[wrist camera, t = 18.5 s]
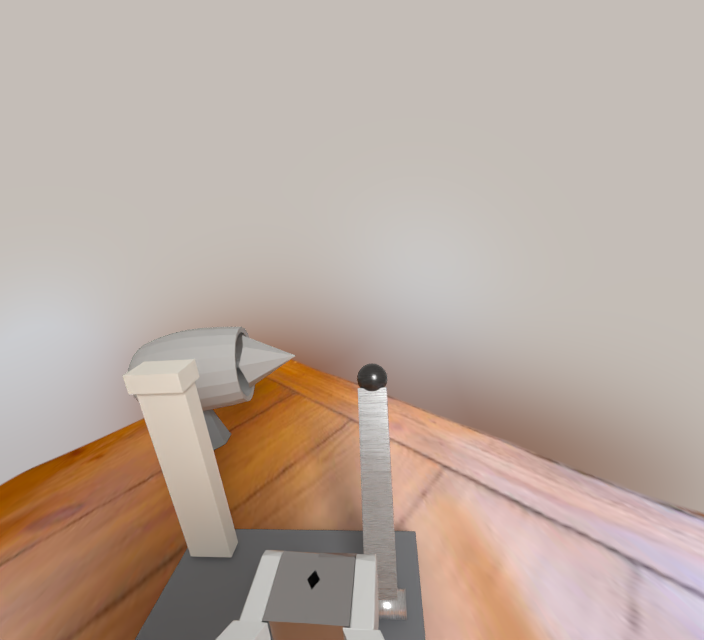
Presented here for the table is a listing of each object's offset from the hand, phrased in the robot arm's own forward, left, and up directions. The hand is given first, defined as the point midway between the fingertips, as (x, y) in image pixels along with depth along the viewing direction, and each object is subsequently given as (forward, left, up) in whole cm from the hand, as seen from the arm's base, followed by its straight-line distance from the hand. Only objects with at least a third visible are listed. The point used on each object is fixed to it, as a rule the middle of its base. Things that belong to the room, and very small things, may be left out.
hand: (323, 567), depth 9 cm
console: (-13, +7, -22) cm, 27 cm away
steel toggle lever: (-5, +10, -20) cm, 22 cm away
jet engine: (-37, +18, -23) cm, 47 cm away
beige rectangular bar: (-21, +6, -20) cm, 30 cm away
